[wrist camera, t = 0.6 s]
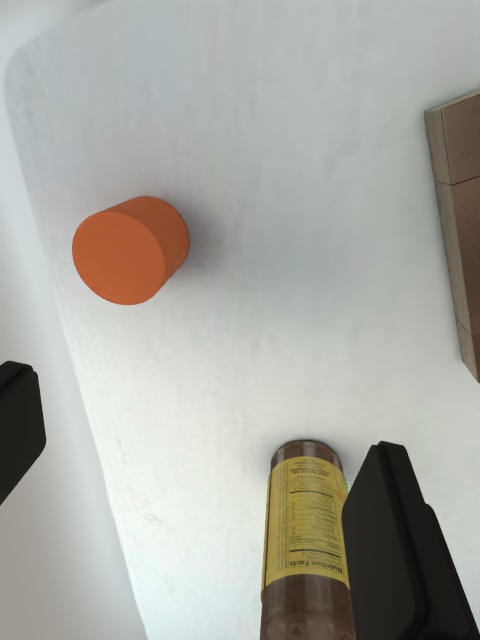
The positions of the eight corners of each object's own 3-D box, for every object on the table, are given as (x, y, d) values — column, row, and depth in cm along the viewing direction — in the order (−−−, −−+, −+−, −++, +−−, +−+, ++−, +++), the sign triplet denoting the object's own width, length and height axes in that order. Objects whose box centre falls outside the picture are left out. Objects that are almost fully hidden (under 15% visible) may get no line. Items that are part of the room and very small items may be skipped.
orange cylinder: (98, 213, 24) (53, 231, 19) (168, 183, 22) (136, 196, 18) (136, 284, 26) (102, 315, 21) (202, 261, 24) (181, 290, 20)
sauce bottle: (321, 497, 33) (351, 914, 15) (258, 471, 32) (215, 869, 15) (359, 452, 30) (450, 907, 12) (290, 424, 29) (283, 852, 12)
